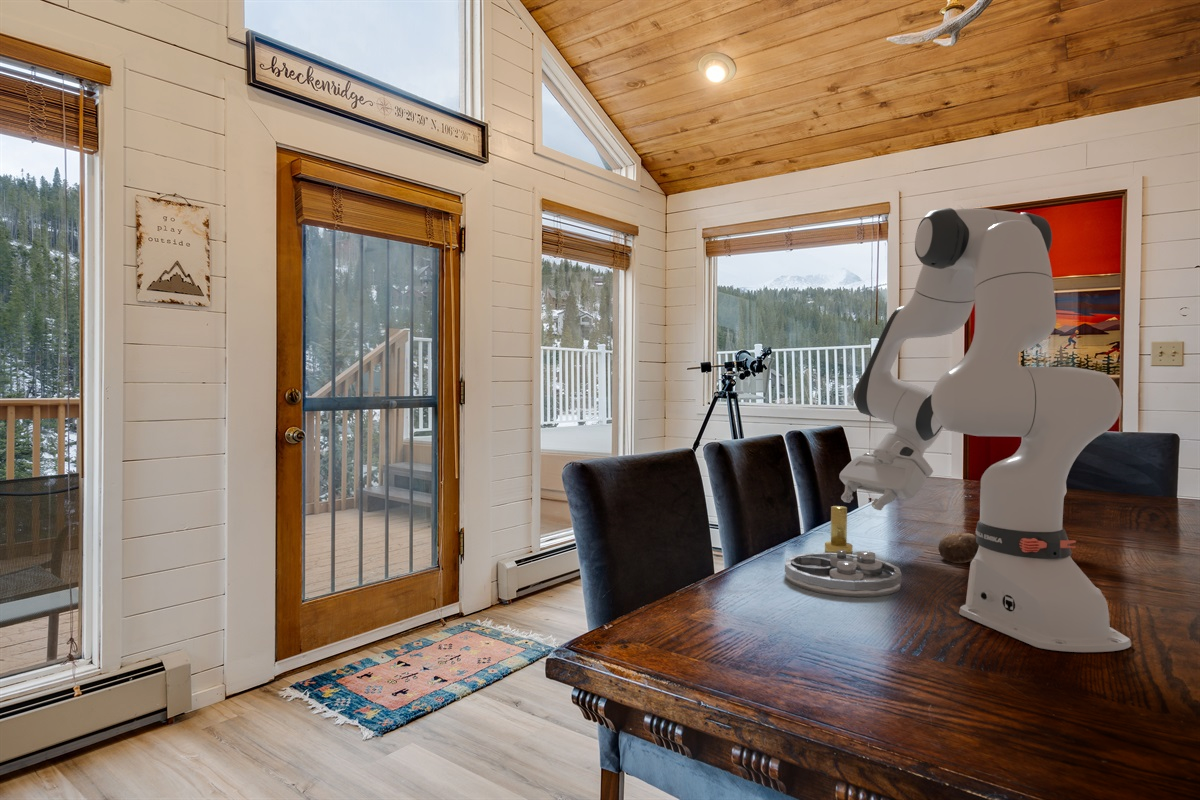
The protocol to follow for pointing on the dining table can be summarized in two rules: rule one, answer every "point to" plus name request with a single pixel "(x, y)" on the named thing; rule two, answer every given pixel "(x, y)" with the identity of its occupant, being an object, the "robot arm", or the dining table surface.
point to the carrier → (843, 574)
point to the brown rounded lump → (958, 547)
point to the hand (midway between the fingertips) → (859, 504)
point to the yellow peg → (838, 531)
